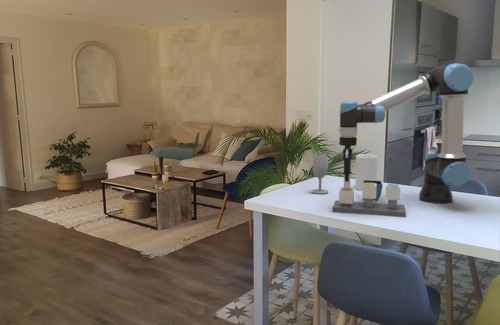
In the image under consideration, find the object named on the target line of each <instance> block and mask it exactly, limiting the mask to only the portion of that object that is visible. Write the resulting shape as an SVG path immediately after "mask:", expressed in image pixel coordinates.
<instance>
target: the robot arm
mask: <svg viewBox="0 0 500 325" xmlns="http://www.w3.org/2000/svg"><path fill="white" fill-rule="evenodd" d="M473 82H474V73H473V70H472V69H471V68H470V67H469V66H468V65H467V64H464V63H450V64H442V65H438V66H436V67H435V68H433V69H431V70H429V71H427V72H425V73H423V74H420V75H419V76H418V78H417V79H415V80H413V81H411V82H408V83H407V84H404V85H402V86H400V87H397V88H396V89H393V90H391V91H389V92H386V93H384V94H383V95H380V96H378V97H376V98H373V99H370V100H369V101H367V102H365V103H362V104H359V103H358V101H342V102H340V105H339V106H340V108H339V128H338V132H339V136H340V137H339V143H338V144H339V146H341V147H342V146H343V147H344V148H343V149H342V154H343V156H342V157H343V172H342V175H343V188H351V174H353V172H352V171H351V170H352V167H351V164H352V158H353V157H352V156H353V148H352V147H355V146H357V142H358V141H357V140H358V139H357V135H358V124H371V123H372V124H374V123H375V124H379V123H383V122H384V121H385V118H386V112H387V111H388V110H391V109H393V108H396V107H398V106H400V105H403V104H405V103H407V102H409V101H411V100H413V99H417V98H418V97H421V96H423V95H430V94H433V93H436V92H438V96H439V97H440V98H441V100H442V105H441V106H442V107H441V108H442V110H441V114H442V115H441V119H442V120H441V152H440V153H426V154H425V157H424V172H423V185H422V186H421V189H420V192H419V195H418V199H419V200H420V201H423V202H426V203H432V204H449V203H452V202H453V198H454V197H453V193H452V189H451V187H455V188H456V187H461V186H463V185H464V184H466V182H468V181H469V179H470V178H471V173H472V172H471V171H472V170H471V167H470V166H469V164H468V163H467V155H466V154H465V153H464V152H463V149H464V147H463V144H464V114H465V112H464V103H465V102H464V101H465V98H466V97H467V96H468V94H469V88H470V87H471V86H472V85H473Z"/></svg>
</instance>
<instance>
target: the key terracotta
mask: <svg viewBox="0 0 500 325" xmlns="http://www.w3.org/2000/svg"><path fill="white" fill-rule="evenodd" d="M354 191H355V189H354V188H352V187H350V188H344V187H340V188H339V192H338V193H339V194H338V201H339V203H346V204H353V202H354V195H355V194H354V193H355V192H354Z"/></svg>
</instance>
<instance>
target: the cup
mask: <svg viewBox="0 0 500 325" xmlns="http://www.w3.org/2000/svg"><path fill="white" fill-rule="evenodd" d="M377 171H378V156H377V155H376V154H369V153H361V154H357V155H356V156H355V176H354V178H355V182H354V184H355V185H354V188H355V189H356V190H358V191H362V185H363V180H371V181H377V175H378V174H377V173H378V172H377Z"/></svg>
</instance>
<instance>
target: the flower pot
mask: <svg viewBox="0 0 500 325" xmlns="http://www.w3.org/2000/svg"><path fill="white" fill-rule="evenodd" d="M365 182H367V183H377V188H376V199H373V202H378V201H379V200H380V198H381V195H382V192H383V191H382V190H383V181H381V180H376V181H371V180H363V183H365Z"/></svg>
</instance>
